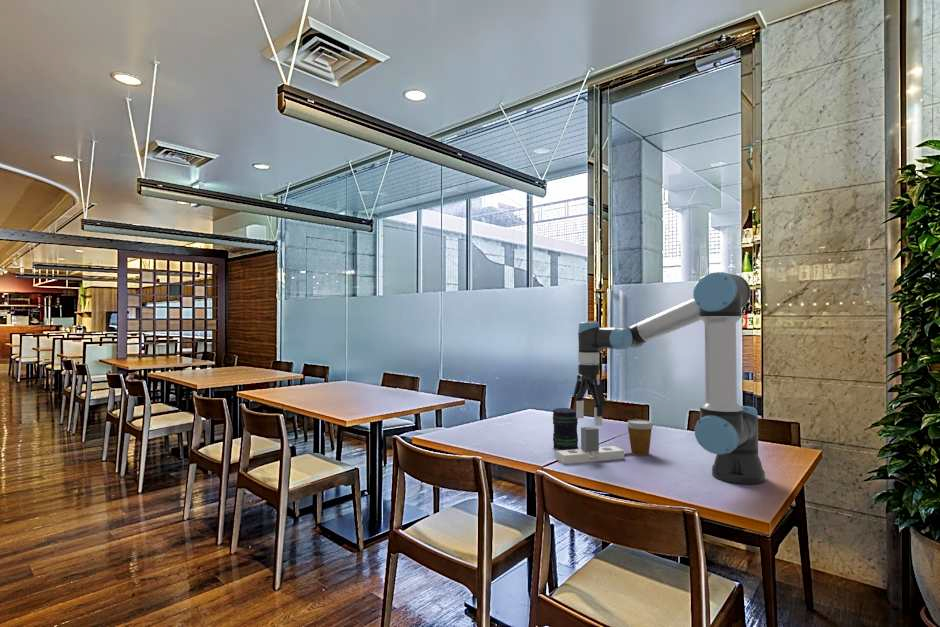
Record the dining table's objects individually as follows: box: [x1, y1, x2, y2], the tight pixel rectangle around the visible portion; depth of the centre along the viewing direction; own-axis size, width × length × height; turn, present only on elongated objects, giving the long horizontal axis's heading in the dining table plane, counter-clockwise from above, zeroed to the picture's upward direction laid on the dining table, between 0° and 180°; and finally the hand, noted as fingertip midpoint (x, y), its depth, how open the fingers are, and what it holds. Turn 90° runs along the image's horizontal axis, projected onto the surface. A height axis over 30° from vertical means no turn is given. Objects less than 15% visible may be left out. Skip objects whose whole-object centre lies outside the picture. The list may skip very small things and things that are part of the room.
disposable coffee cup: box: [626, 419, 654, 456], centre depth 196 cm, size 10×10×12 cm
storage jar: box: [552, 407, 579, 451], centre depth 206 cm, size 10×10×15 cm
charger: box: [580, 426, 600, 456], centre depth 189 cm, size 4×5×10 cm
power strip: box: [555, 445, 635, 465], centre depth 189 cm, size 7×30×3 cm, turn 106°
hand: (588, 421), depth 189 cm, fingers open, 13 cm apart
